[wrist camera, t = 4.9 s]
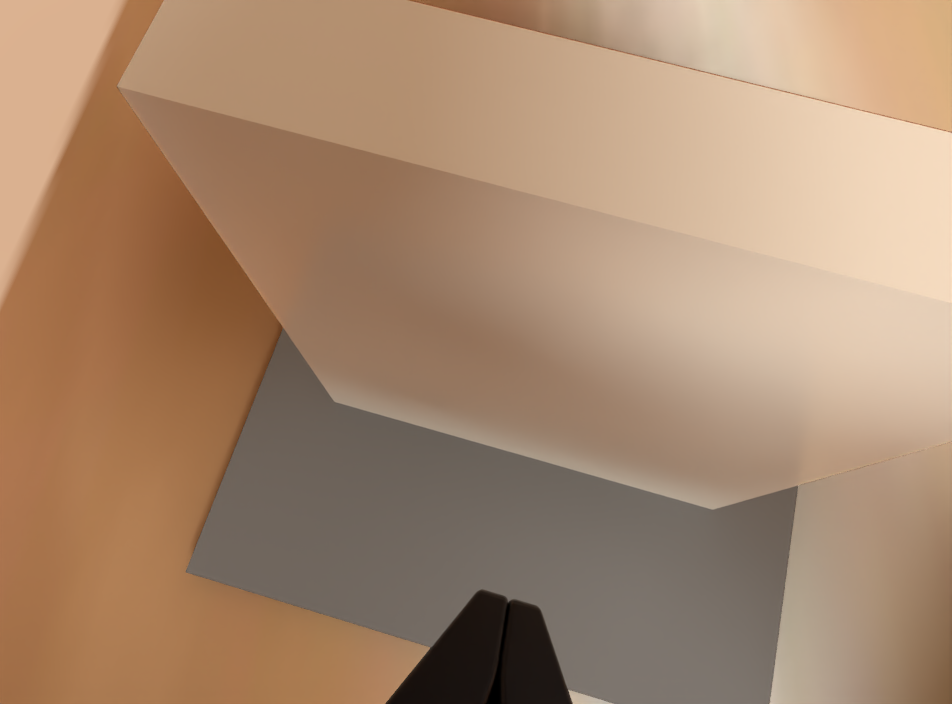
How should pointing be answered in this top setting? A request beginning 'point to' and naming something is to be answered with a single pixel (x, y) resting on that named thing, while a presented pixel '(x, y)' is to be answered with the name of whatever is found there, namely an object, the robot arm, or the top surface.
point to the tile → (568, 239)
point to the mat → (496, 546)
